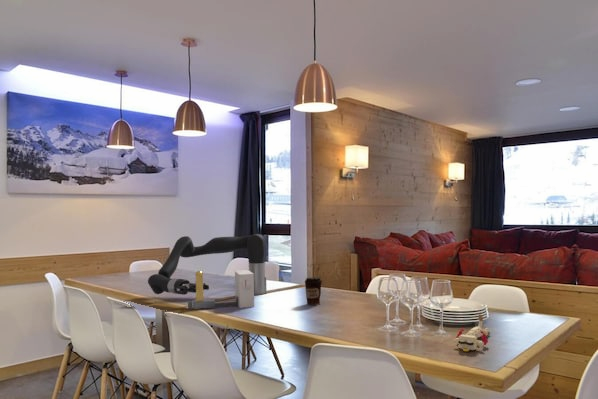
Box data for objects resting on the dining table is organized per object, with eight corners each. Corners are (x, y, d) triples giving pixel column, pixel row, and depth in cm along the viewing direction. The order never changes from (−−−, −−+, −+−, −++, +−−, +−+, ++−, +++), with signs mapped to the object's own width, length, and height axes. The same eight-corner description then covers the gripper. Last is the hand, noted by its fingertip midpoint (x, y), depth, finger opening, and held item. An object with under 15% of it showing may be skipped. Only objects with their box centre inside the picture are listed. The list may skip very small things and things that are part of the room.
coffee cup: (320, 306, 223) (320, 279, 224) (303, 306, 225) (303, 279, 225) (323, 302, 232) (322, 276, 232) (307, 302, 233) (306, 276, 234)
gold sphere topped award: (213, 304, 231) (212, 269, 231) (215, 307, 224) (214, 270, 224) (192, 306, 228) (192, 270, 228) (193, 309, 221) (193, 272, 221)
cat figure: (467, 336, 172) (449, 349, 151) (467, 312, 173) (448, 321, 152) (496, 340, 166) (481, 353, 146) (496, 315, 167) (480, 325, 146)
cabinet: (249, 301, 239) (248, 270, 240) (254, 307, 225) (253, 273, 226) (234, 302, 237) (233, 271, 237) (239, 308, 223) (238, 274, 223)
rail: (242, 303, 233) (241, 296, 233) (243, 305, 229) (243, 298, 230) (187, 308, 226) (187, 300, 226) (188, 310, 222) (188, 302, 222)
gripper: (189, 291, 239) (212, 294, 230) (167, 296, 227) (191, 299, 218) (189, 276, 239) (212, 279, 231) (167, 280, 228) (191, 283, 219)
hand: (202, 288), depth 225 cm, fingers open, 8 cm apart
